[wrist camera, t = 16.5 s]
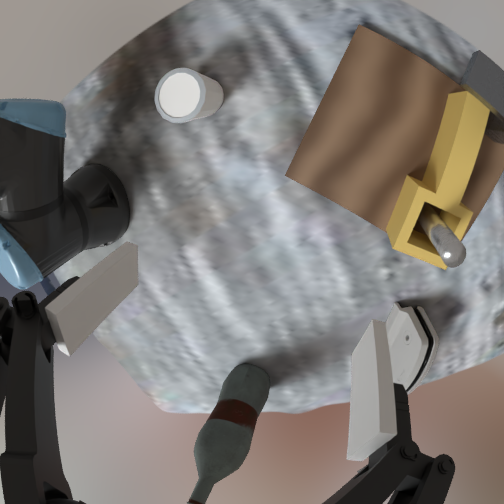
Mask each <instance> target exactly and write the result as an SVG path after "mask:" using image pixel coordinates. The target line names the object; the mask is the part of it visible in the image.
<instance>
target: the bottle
mask: <svg viewBox="0 0 504 504" xmlns="http://www.w3.org/2000/svg"><path fill="white" fill-rule="evenodd" d="M269 389H270V379H269V376H268V375H267V373H266V372H265V371H264V370H262V369H261V368H259V367H257V366H254V365H249V364H242V365H238V366H236V367H235V368H234V369H233V370H232V371H231V372H230V374H229V375H228V377H227V378H226V380H225V381H224V383H223V386H222V389H221V392H220V396H219V400H218V403H217V405H216V406H215V408H214V410H213V411H212V413H211V415H210V417H209V418H208V420H207V421H206V423H205V425H204V426H203V428H202V429H201V430H200V432H199V434H198V437H197V440H196V443H195V447H194V456H195V461H196V466H197V470H198V475H199V480H198V482H197V484H196V486H195V489H194V491H193V493H192V495H191V497H190V499H189V502H187V504H205V502H206V500H207V498H208V496H209V494H210V492H211V490H212V487H213V485H214V484H215V483H217V482H218V481H220V480H222V479H223V478H225V477H227V476H228V475H230V474H231V473H233V472H234V471H236V470H238V469H239V467H240V466H241V465H242V464H243V462H244V460H245V458H246V456H247V454H248V452H249V450H250V445H251V441H252V436H253V433H254V429H255V425H256V421H257V418H258V416H259V414H260V412H261V411H262V409H263V407H264V405H265V403H266V401H267V398H268V394H269Z"/></svg>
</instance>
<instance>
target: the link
mask: <svg viewBox="0 0 504 504" xmlns="http://www.w3.org/2000/svg"><path fill="white" fill-rule="evenodd" d="M489 112H490V110H489V109H488V108H487V107H486V106H485V105H483V104H482V103H481V102H480V101H479V100H478V99H476V98H475V97H474V96H473V95H472V94H470V93H469V92H468V91H463V92H457V93H451V94H449V95H448V99H447V103H446V107H445V110H444V114H443V118H442V121H441V125H440V128H439V132H438V135H437V138H436V141H435V145H434V148H433V151H432V154H431V157H430V160H429V163H428V166H427V168H426V171H425V174H424V177H423V180H422V181H420V180H417V179H415V178H413V177H411V176H408V175H407V176H406V179H405V182H404V184H403V187H402V190H401V192H400V195H399V198H398V200H397V203H396V205H395V208H394V210H393V213H392V215H391V218H390V220H389V222H388V225H387V227H386V231H387V234H388V236H389V239H390V242H391V245H392V248H393V249H395V250H398V251H400V252H403V253H405V254H408V255H410V256H413V257H415V258H418V259H420V260H423V261H425V262H428V263H430V264H433V265H435V266H437V267H440V268H442V269H445V270H446V269H447V267H448V266H446V265H445V264H444V262H443V260H442V258H441V257H440V255H439V253H438V252H437V250H436V248H435V247H434V245H433V244H432V242H431V240H430V239H429V237H428V236H427V235H424V234H422V233H419V232H417V231H415V230H413V228H414V226H415V223H416V221H417V219H418V216H419V214H420V212H421V209H422V207H423V204H424V202H427V203H430V204H432V205H434V206H436V207H438V208H440V209H442V210H441V213H440V215H439V216H440V217H441V219H442V220H443V221H444V222H445V223H446V224H447V226H448V227H449V228H450V229H451V230H452V232H453V233H454V234H455V235H456V236H457V238H458V239H459V240H460V241H461V239H462V237H463V235H464V233H465V231H466V228H467V226H468V224H469V222H470V220H471V217H472V215H473V212H472V211H471V210H470V209H469V208H467V207H466V206H465V205H464V204H463V203H461V200H462V197H463V195H464V192H465V189H466V187H467V184H468V181H469V179H470V176H471V173H472V170H473V167H474V164H475V161H476V158H477V155H478V152H479V149H480V146H481V142H482V139H483V135H484V132H485V128H486V124H487V120H488V116H489Z"/></svg>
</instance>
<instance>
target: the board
mask: <svg viewBox="0 0 504 504" xmlns="http://www.w3.org/2000/svg"><path fill="white" fill-rule="evenodd" d="M463 91H466V90H465V89H464V88H462V87H461V86H460V85H459V84H457V83H456V82H455V81H453V80H452V79H451V78H449V77H448V76H446V75H445V74H444V73H442V72H441V71H439V70H438V69H437V68H435V67H434V66H432V65H431V64H429V63H428V62H426V61H425V60H423V59H421V58H420V57H418V56H417V55H415V54H413V53H412V52H410V51H408V50H407V49H405V48H403V47H402V46H400V45H398V44H396V43H394V42H393V41H391V40H389V39H387V38H385V37H383V36H381V35H380V34H378V33H376V32H374V31H372V30H370V29H367V28H365V27H363V26H361V25H358V27H357V29H356V31H355V33H354V36H353V38H352V40H351V42H350V44H349V46H348V48H347V50H346V52H345V54H344V56H343V58H342V60H341V62H340V64H339V66H338V68H337V70H336V72H335V74H334V76H333V78H332V80H331V82H330V84H329V86H328V88H327V90H326V92H325V94H324V97H323V99H322V101H321V103H320V105H319V107H318V109H317V111H316V113H315V115H314V117H313V119H312V121H311V123H310V125H309V127H308V129H307V131H306V133H305V135H304V137H303V139H302V142H301V144H300V146H299V148H298V150H297V152H296V154H295V156H294V158H293V160H292V162H291V164H290V166H289V168H288V170H287V172H286V174H285V176H287V177H289V178H290V179H292V180H294V181H296V182H298V183H300V184H302V185H304V186H306V187H308V188H310V189H311V190H313V191H315V192H317V193H319V194H321V195H323V196H324V197H326V198H328V199H330V200H332V201H333V202H335V203H337V204H339V205H341V206H342V207H344V208H346V209H348V210H349V211H351V212H353V213H355V214H356V215H358V216H360V217H361V218H363V219H365V220H366V221H368V222H370V223H371V224H373V225H375V226H376V227H378V228H380V229H381V230H383V231H385V232H386V233H387V231H386V227H387V225H388V222H389V220H390V218H391V215H392V213H393V210H394V208H395V205H396V203H397V200H398V198H399V195H400V192H401V190H402V187H403V184H404V182H405V179H406V176H407V175H408V176H411V177H413V178H415V179H417V180H420V181H422V180H423V177H424V174H425V171H426V168H427V166H428V163H429V160H430V157H431V154H432V151H433V148H434V145H435V141H436V138H437V135H438V132H439V128H440V125H441V121H442V118H443V114H444V110H445V107H446V103H447V99H448V95H449V94H451V93H457V92H463ZM503 170H504V144H500V143H496V142H494V141H493V140H492V139H491V138H489V137H488V136H487V135H486V134H485V133H484V135H483V139H482V142H481V146H480V149H479V152H478V155H477V158H476V161H475V164H474V167H473V170H472V173H471V176H470V179H469V181H468V184H467V187H466V189H465V192H464V195H463V197H462V200H461V203H463V204H464V205H465V206H466V207H467V208H469V209H470V210H471V211H472V212H473V215H472V217H471V220H470V222H469V224H468V226H467V228H466V231H465V233H464V235H463V237H462V239H463V238H464V236H465V235H466V233H467V232H468V230H469V229H470V227H471V226H472V224H473V223H474V221H475V219H476V218H477V216H478V215H479V213H480V211H481V210H482V208H483V206H484V205H485V203H486V201H487V199H488V198H489V196H490V194H491V192H492V191H493V189H494V187H495V185H496V183H497V182H498V180H499V178H500V176H501V174H502V172H503ZM426 203H427V202H426ZM428 204H429V205H430V206H431V207H432V208H433V209H434V211H435V212H436V213H437V214H438V215H440V213H441V210H442V209H440V208H438V207H436V206H434V205H432V204H430V203H428ZM413 230H415V231H417V232H419V233H422V234H424V235H427V234H426V232H425V231H424V229H423V228H422V226H421V225H420V223H419V222H418V220H417V221H416V223H415V226H414V228H413ZM462 239H461V241H462ZM441 269H442V268H441Z"/></svg>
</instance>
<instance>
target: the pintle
mask: <svg viewBox="0 0 504 504" xmlns="http://www.w3.org/2000/svg"><path fill="white" fill-rule="evenodd" d="M417 220H418V222H419V223H420V225H421V226H422V228H423V229H424V231H425V232H426V234H427V236H428V237H429V239H430V240H431V242H432V244H433V245H434V247H435V248H436V250H437V252H438V253H439V255H440V257H441V258H442V260H443V262H444V264H445V265H446V266H448V267H452V268H453V267H457V266H459V265H460V264H461V263H462V262H463V261H464V259H465V257H466V249H465V247H464V245H463V244H462V243H461V241H460V240H459V239H458V238H457V236H456V235H455V234H454V233H453V232H452V230H451V229H450V228H449V227H448V226H447V224H446V223H445V222H444V221H443V220H442V219H441V217H440V216H439V215H438V214H437V213H436V212H435V211H434V209H433V208H432V207H431V206H430V205H429V204H428V203H426V202H424V204H423V207H422V209H421V212H420V214H419V216H418V219H417Z"/></svg>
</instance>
